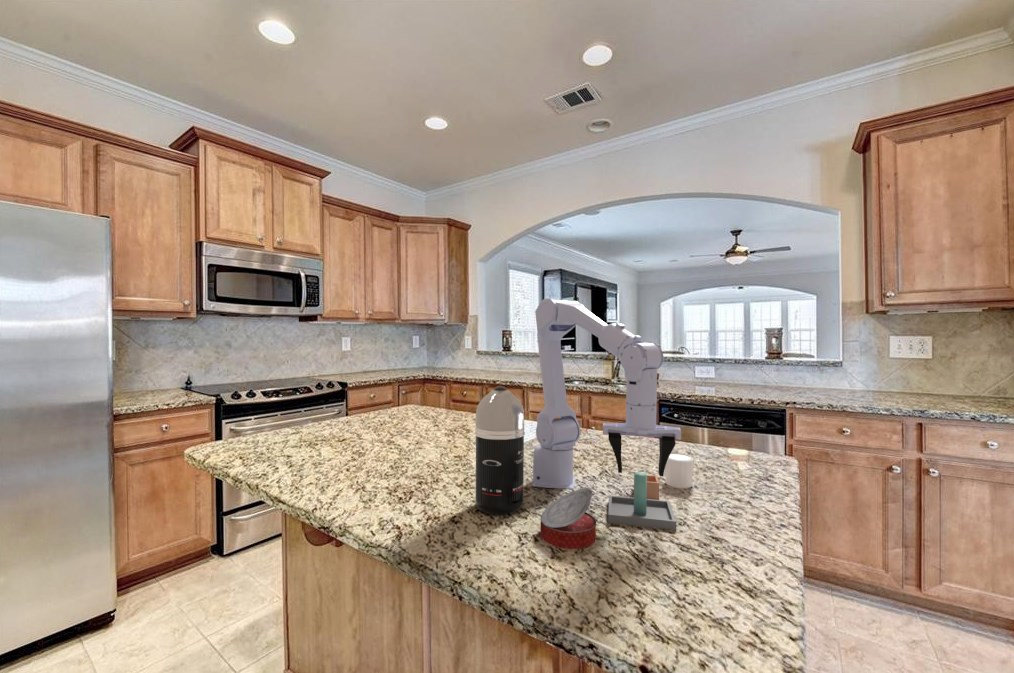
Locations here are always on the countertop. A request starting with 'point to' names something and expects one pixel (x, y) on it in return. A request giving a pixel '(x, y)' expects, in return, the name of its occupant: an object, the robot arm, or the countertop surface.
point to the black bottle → (499, 453)
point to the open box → (652, 487)
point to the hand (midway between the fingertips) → (640, 473)
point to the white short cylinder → (679, 470)
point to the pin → (640, 493)
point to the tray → (656, 515)
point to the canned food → (569, 521)
